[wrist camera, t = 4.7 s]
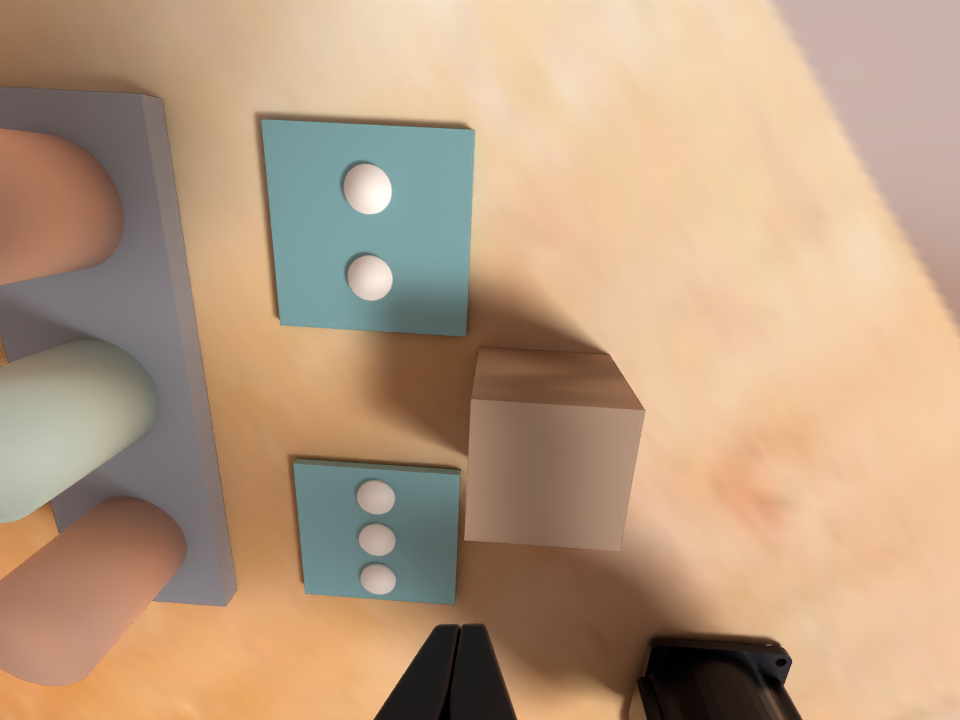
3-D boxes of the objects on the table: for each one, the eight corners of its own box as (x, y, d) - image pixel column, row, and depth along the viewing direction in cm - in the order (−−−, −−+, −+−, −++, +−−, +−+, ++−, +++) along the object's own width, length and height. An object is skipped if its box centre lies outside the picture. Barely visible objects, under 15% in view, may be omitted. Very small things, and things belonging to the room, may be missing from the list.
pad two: (475, 131, 16) (473, 129, 15) (466, 333, 18) (465, 338, 18) (266, 120, 16) (258, 118, 16) (285, 322, 19) (277, 326, 18)
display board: (162, 99, 16) (-23, 51, 10) (237, 589, 23) (151, 718, 18) (-42, 88, 16) (-330, 36, 11) (94, 578, 23) (-36, 703, 18)
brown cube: (609, 353, 19) (644, 410, 14) (592, 466, 20) (619, 551, 16) (478, 346, 19) (470, 399, 14) (473, 458, 20) (464, 540, 16)
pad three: (460, 469, 20) (459, 477, 20) (455, 598, 23) (454, 608, 22) (296, 458, 21) (291, 466, 20) (308, 587, 23) (303, 597, 22)
